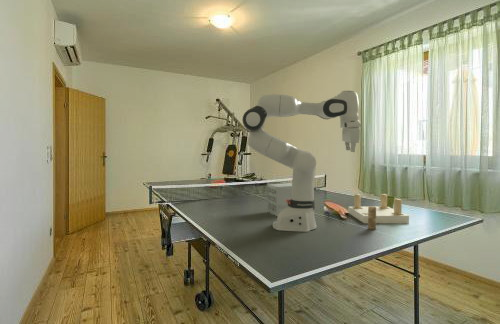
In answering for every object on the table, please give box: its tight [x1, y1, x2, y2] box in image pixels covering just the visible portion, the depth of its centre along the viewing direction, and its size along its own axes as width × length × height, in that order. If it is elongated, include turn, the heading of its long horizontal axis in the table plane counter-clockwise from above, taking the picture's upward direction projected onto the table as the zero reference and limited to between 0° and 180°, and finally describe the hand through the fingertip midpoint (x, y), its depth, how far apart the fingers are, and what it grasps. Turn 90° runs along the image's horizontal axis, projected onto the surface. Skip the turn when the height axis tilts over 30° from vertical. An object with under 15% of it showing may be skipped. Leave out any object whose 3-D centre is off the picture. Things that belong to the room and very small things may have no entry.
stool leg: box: [367, 205, 377, 231], centre depth 138 cm, size 4×4×11 cm
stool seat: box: [347, 193, 410, 224], centre depth 160 cm, size 24×24×12 cm
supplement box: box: [267, 182, 292, 217], centre depth 172 cm, size 17×13×18 cm
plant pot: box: [379, 195, 397, 209], centre depth 179 cm, size 9×9×9 cm
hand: (350, 151), depth 140 cm, fingers open, 8 cm apart
